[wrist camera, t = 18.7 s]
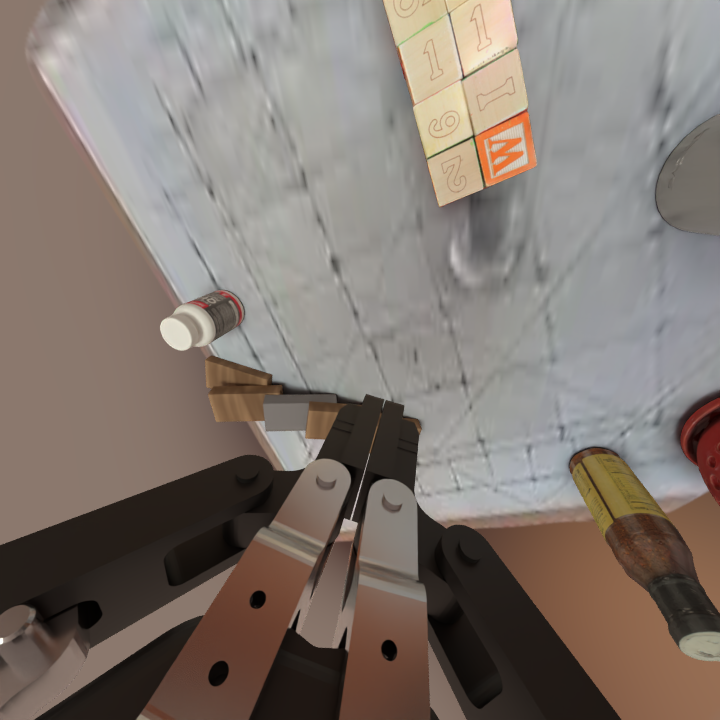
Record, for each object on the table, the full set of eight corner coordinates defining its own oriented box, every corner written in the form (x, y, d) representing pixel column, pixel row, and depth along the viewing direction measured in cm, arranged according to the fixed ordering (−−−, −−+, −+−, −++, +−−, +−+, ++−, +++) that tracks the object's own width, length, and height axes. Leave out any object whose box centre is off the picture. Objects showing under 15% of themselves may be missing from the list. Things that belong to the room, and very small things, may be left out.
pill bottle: (233, 284, 41) (179, 306, 33) (252, 321, 43) (206, 351, 35) (202, 295, 43) (145, 319, 35) (222, 330, 45) (171, 361, 37)
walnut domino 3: (382, 415, 43) (309, 410, 41) (374, 441, 46) (305, 438, 44) (379, 406, 45) (309, 401, 43) (372, 432, 47) (305, 428, 45)
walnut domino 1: (267, 379, 45) (205, 359, 46) (265, 406, 48) (206, 387, 49) (273, 373, 47) (213, 354, 48) (271, 399, 50) (214, 380, 51)
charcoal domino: (335, 420, 48) (267, 421, 47) (336, 394, 45) (265, 394, 44) (335, 429, 46) (265, 431, 45) (336, 402, 44) (262, 403, 42)
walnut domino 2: (279, 393, 44) (208, 394, 44) (283, 420, 47) (216, 421, 47) (281, 385, 46) (213, 386, 46) (286, 411, 49) (221, 412, 48)
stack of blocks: (362, -75, 25) (303, -282, 14) (441, -139, 22) (443, -444, 12) (439, 205, 32) (438, 209, 21) (504, 178, 30) (539, 167, 19)
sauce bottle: (591, 487, 43) (692, 679, 26) (555, 463, 43) (634, 642, 25) (636, 461, 40) (786, 661, 23) (598, 435, 39) (722, 618, 22)
